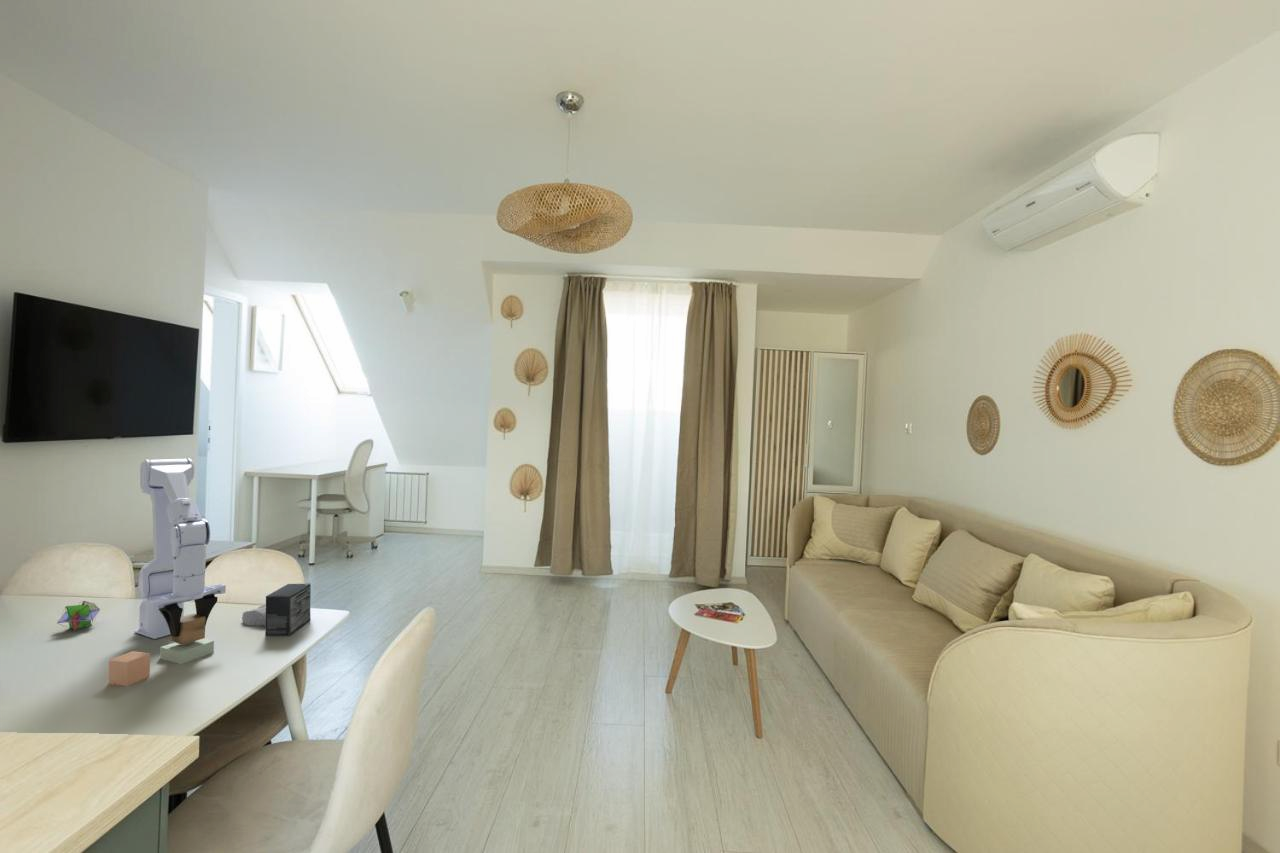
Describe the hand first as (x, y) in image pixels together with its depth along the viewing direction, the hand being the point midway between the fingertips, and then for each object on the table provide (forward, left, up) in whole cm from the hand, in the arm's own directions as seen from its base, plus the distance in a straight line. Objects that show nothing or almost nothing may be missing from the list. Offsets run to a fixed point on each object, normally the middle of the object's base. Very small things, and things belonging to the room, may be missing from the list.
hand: (187, 632), depth 127 cm
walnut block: (0, 0, -2) cm, 2 cm away
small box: (+4, +21, -6) cm, 22 cm away
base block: (0, 0, -6) cm, 6 cm away
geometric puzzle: (-40, -4, -6) cm, 41 cm away
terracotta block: (+3, -12, -6) cm, 14 cm away
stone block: (-7, +23, -6) cm, 25 cm away
